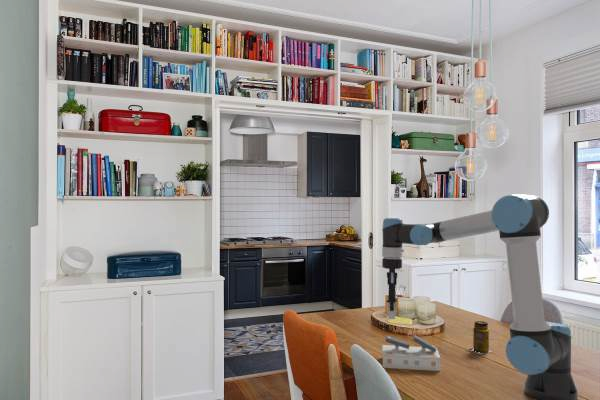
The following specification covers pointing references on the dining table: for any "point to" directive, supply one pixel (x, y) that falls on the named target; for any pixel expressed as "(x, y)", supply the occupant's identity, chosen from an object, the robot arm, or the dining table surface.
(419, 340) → the rocker
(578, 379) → the dining table surface
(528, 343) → the robot arm
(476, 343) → the condiment
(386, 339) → the rocker
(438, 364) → the switch unit
